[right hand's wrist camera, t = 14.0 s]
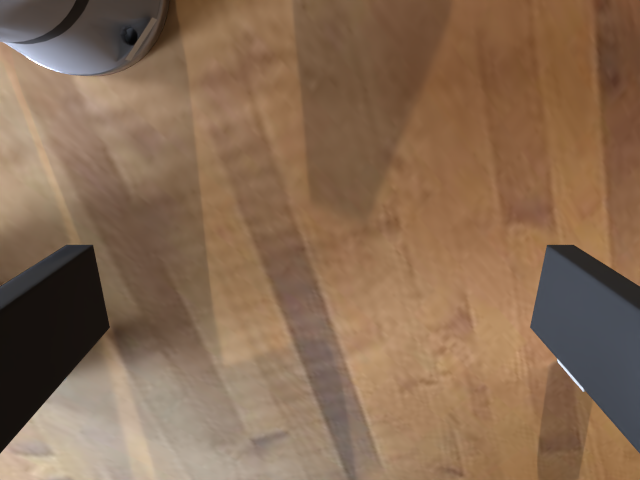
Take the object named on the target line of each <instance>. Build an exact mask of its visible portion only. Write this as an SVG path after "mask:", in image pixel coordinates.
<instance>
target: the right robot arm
mask: <svg viewBox="0 0 640 480" xmlns="http://www.w3.org/2000/svg"><path fill="white" fill-rule="evenodd" d="M168 8H169V0H0V42H4V43H6V44H7V45H9V46H10V47H12V48H14V49H15V50H17V51H18V52H20V53H22V54H23V55H25V56H26V57H28V58H29V59H31V60H32V61H34V62H36V63H38V64H40V65H42V66H44V67H46V68H49V69H51V70H54V71H57V72H61V73H65V74H71V75H83V76H103V75H109V74H113V73H117V72H120V71H122V70H124V69H127V68H128V67H130V66H132V65H134V64H135V63H136V62H138V61H139V60H140V59H142V58H143V57H144V56H145V55H146V54H147V53H148V52H149V50H150V49H151V48H152V47H153V45H154V44H155V42H156V41H157V39H158V37H159V35H160V33H161V31H162V29H163V26H164V23H165V20H166V17H167V12H168ZM109 328H110V326H109V321H108V316H107V311H106V306H105V301H104V297H103V292H102V287H101V282H100V277H99V272H98V267H97V262H96V258H95V253H94V248H93V245H66V246H64V247H62V248H61V249H59V250H58V251H56V252H54V253H53V254H51V255H50V256H48V257H46V258H45V259H43V260H42V261H40V262H39V263H37V264H35V265H34V266H32V267H31V268H29V269H27V270H26V271H24V272H23V273H21V274H19V275H18V276H16V277H15V278H13V279H12V280H10V281H8V282H7V283H5V284H4V285H2V286H0V453H1V452H2V451H3V450H4V449H5V447H6V446H7V445H8V444H9V443H10V442H11V440H12V439H13V438H14V437H15V436H16V435H17V434H18V432H19V431H20V430H21V429H22V428H23V427H24V426H25V424H26V423H27V422H28V421H29V420H30V419H31V417H32V416H33V415H34V414H35V413H36V412H37V411H38V409H39V408H40V407H41V406H42V405H43V404H44V402H45V401H46V400H47V399H48V398H49V397H50V396H51V394H52V393H53V392H54V391H55V390H56V389H57V388H58V386H59V385H60V384H61V383H62V382H63V381H64V379H65V378H66V377H67V376H68V375H69V374H70V373H71V371H72V370H73V369H74V368H75V367H76V366H77V365H78V363H79V362H80V361H81V360H82V359H83V358H84V356H85V355H86V354H87V353H88V352H89V351H90V350H91V348H92V347H93V346H94V345H95V344H96V343H97V341H98V340H99V339H100V338H101V337H102V336H103V335H104V333H105V332H106V331H107V330H108V329H109ZM530 328H531V329H532V330H533V331H534V332H535V333H536V335H537V336H538V337H539V338H540V339H541V340H542V341H543V343H544V344H545V345H546V346H547V347H548V348H549V350H550V351H551V352H552V353H553V354H554V355H555V356H556V358H557V359H558V360H559V361H560V362H561V363H562V365H563V366H564V367H565V368H566V369H567V370H568V371H569V373H570V374H571V375H572V376H573V377H574V378H575V379H576V381H577V382H578V383H579V384H580V385H581V386H582V388H583V389H584V390H585V391H586V392H587V393H588V394H589V396H590V397H591V398H592V399H593V400H594V401H595V402H596V404H597V405H598V406H599V407H600V408H601V409H602V411H603V412H604V413H605V414H606V415H607V416H608V417H609V419H610V420H611V421H612V422H613V423H614V424H615V426H616V427H617V428H618V429H619V430H620V431H621V432H622V434H623V435H624V436H625V437H626V438H627V439H628V440H629V442H630V443H631V444H632V445H633V446H634V447H635V449H636V450H637V451H638V452H639V453H640V286H638V285H636V284H635V283H633V282H632V281H630V280H628V279H627V278H625V277H624V276H622V275H621V274H619V273H617V272H616V271H614V270H613V269H611V268H609V267H608V266H606V265H605V264H603V263H601V262H600V261H598V260H597V259H595V258H594V257H592V256H590V255H589V254H587V253H586V252H584V251H582V250H581V249H579V248H578V247H576V246H574V245H547V248H546V253H545V258H544V262H543V267H542V272H541V277H540V282H539V287H538V292H537V297H536V301H535V306H534V311H533V316H532V321H531V326H530Z"/></svg>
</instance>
